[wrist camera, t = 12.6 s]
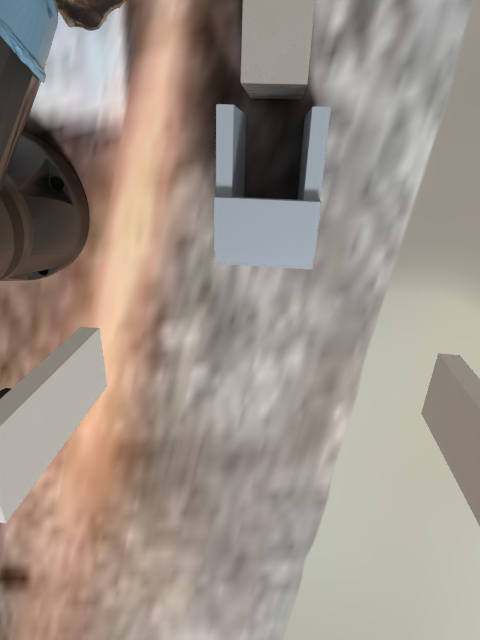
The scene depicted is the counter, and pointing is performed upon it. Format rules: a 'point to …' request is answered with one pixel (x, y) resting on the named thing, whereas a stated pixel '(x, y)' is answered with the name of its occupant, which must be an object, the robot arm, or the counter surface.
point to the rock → (86, 12)
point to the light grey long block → (276, 47)
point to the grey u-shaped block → (266, 199)
